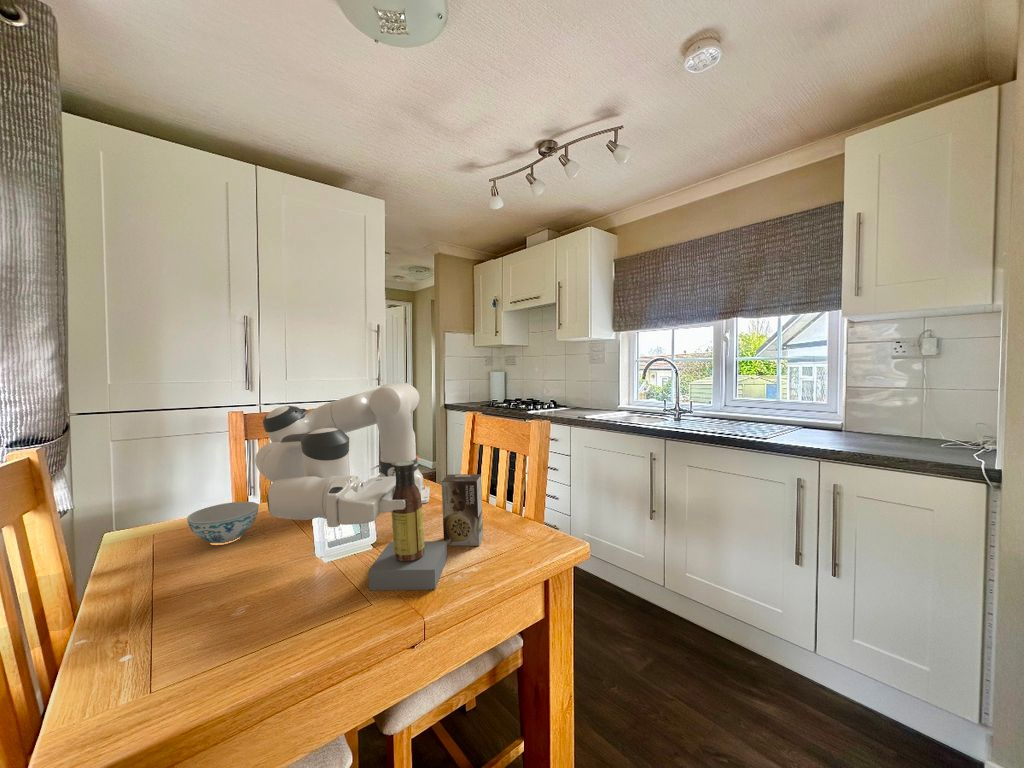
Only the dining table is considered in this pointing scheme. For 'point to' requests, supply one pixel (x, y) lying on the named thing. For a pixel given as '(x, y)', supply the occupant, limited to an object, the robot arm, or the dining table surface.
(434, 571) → the stand
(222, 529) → the chinaware
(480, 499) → the coffee box
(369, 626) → the dining table surface
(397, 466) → the sauce bottle
